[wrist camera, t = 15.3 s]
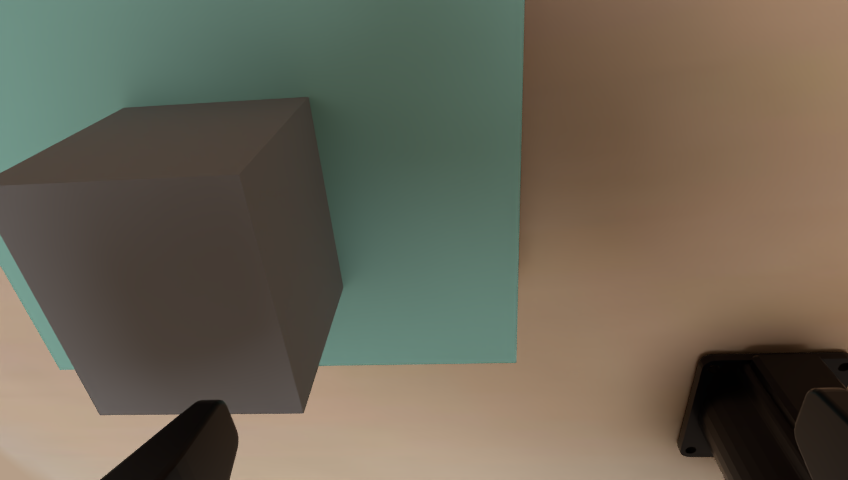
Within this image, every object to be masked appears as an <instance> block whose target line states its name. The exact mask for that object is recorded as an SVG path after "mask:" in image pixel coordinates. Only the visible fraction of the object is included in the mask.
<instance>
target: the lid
mask: <svg viewBox="0 0 848 480" xmlns="http://www.w3.org/2000/svg"><path fill="white" fill-rule="evenodd" d="M524 6H525V0H0V173H1V172H3V171H5V170H7V169H9V168H11V167H13V166H14V165H16V164H18V163H20V162H22V161H24V160H26V159H28V158H30V157H31V156H33V155H35V154H37V153H39V152H41V151H43V150H45V149H47V148H48V147H50V146H52V145H54V144H56V143H58V142H60V141H62V140H64V139H65V138H67V137H69V136H71V135H73V134H75V133H77V132H79V131H81V130H82V129H84V128H86V127H88V126H90V125H92V124H94V123H96V122H98V121H100V120H101V119H103V118H105V117H107V116H109V115H111V114H113V113H115V112H117V111H118V110H120V109H122V108H127V107H144V106H161V105H178V104H195V103H212V102H229V101H246V100H263V99H280V98H296V97H309V102H310V107H311V113H312V118H313V124H314V129H315V135H316V140H317V146H318V151H319V157H320V162H321V168H322V173H323V178H324V184H325V189H326V195H327V200H328V206H329V211H330V217H331V222H332V228H333V233H334V239H335V244H336V250H337V255H338V260H339V266H340V271H341V277H342V282H343V290H342V294H341V297H340V300H339V303H338V306H337V309H336V312H335V316H334V319H333V322H332V325H331V328H330V331H329V335H328V338H327V341H326V344H325V347H324V350H323V353H322V357H321V360H320V363H319V366H336V365H402V364H468V363H516V351H517V308H518V265H519V222H520V178H521V135H522V92H523V49H524ZM0 266H1V267H2V269H3V271H4V273H5V274H6V276H7V278H8V280H9V281H10V283H11V285H12V287H13V288H14V290H15V292H16V294H17V295H18V297H19V299H20V301H21V302H22V304H23V306H24V308H25V309H26V311H27V313H28V315H29V316H30V318H31V320H32V322H33V323H34V325H35V327H36V329H37V330H38V332H39V334H40V336H41V337H42V339H43V341H44V343H45V344H46V346H47V348H48V350H49V351H50V353H51V355H52V357H53V358H54V360H55V362H56V364H57V365H58V367H59V369H60V370H73V369H74V367H73V365H72V364H71V362H70V360H69V358H68V356H67V355H66V353H65V351H64V349H63V347H62V346H61V344H60V342H59V340H58V338H57V336H56V335H55V333H54V331H53V329H52V327H51V326H50V324H49V322H48V320H47V318H46V317H45V315H44V313H43V311H42V309H41V308H40V306H39V304H38V302H37V300H36V298H35V297H34V295H33V293H32V291H31V289H30V288H29V286H28V284H27V282H26V280H25V279H24V277H23V275H22V273H21V271H20V270H19V268H18V266H17V264H16V262H15V260H14V259H13V257H12V255H11V253H10V251H9V250H8V248H7V246H6V244H5V242H4V241H3V239H2V237H1V235H0Z"/></svg>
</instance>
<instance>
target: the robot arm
mask: <svg viewBox="0 0 848 480" xmlns="http://www.w3.org/2000/svg"><path fill="white" fill-rule="evenodd" d="M711 365H713V366H711ZM847 386H848V353H845V352H821V353H760V354H711V355H706V356H704V357H703V358H701V359H700V361H699V363H698V366H697V370H696V374H695V378H694V382H693V386H692V389H691V393H690V397H689V401H688V405H687V409H686V413H685V417H684V420H683V424H682V428H681V432H680V436H679V440H678V448H679V450H680V453H681V454H682V455H684V456H687V457H714V458H715V460H716V462H717V464H718V466H719V468H720V470H721V472H722V474H723V476H724V478H725V480H848V390H847ZM237 448H238V433H237V430H236V427H235V425H234V422H233V420H232V417H231V414H230V412H229V409H228V407H227V405H226V403H225V402H224V401H223V400H219V399H218V400H199V401H197V402H195V403H194V404H192V405H191V406H190V407H189V408H187V409H186V410H185V411H184V412H183V413H181V414H180V415H179V416H178V417H176V418H175V419H174V420H173V421H171V422H170V423H169V424H168V425H167V426H165V427H164V428H163V429H162V430H160V431H159V432H158V433H157V434H156V435H154V436H153V437H152V438H151V439H149V440H148V441H147V442H146V443H145V444H143V445H142V446H141V447H140V448H138V449H137V450H136V451H135V452H133V453H132V454H131V455H130V456H129V457H127V458H126V459H125V460H124V461H122V462H121V463H120V464H119V465H118V466H116V467H115V468H114V469H113V470H111V471H110V472H109V473H108V474H107V475H105V476H104V477H103V478H102V479H100V480H230V476H231V472H232V468H233V464H234V460H235V456H236V452H237Z"/></svg>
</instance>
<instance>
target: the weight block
mask: <svg viewBox="0 0 848 480" xmlns="http://www.w3.org/2000/svg"><path fill="white" fill-rule="evenodd" d="M0 235H1V237H2V239H3V241H4V242H5V244H6V246H7V248H8V250H9V251H10V253H11V255H12V257H13V259H14V260H15V262H16V264H17V266H18V268H19V270H20V271H21V273H22V275H23V277H24V279H25V280H26V282H27V284H28V286H29V288H30V289H31V291H32V293H33V295H34V297H35V298H36V300H37V302H38V304H39V306H40V308H41V309H42V311H43V313H44V315H45V317H46V318H47V320H48V322H49V324H50V326H51V327H52V329H53V331H54V333H55V335H56V336H57V338H58V340H59V342H60V344H61V346H62V347H63V349H64V351H65V353H66V355H67V356H68V358H69V360H70V362H71V364H72V365H73V367H74V369H75V371H76V373H77V374H78V376H79V378H80V380H81V382H82V384H83V385H84V387H85V389H86V391H87V393H88V394H89V396H90V398H91V400H92V402H93V403H94V405H95V407H96V409H97V411H98V412H99V414H100V415H168V414H181V413H183V412H184V411H185V410H186V409H187V408H189V407H190V406H191V405H192V404H194V403H195V402H197V401H199V400H218V399H219V400H223V401H224V402H225V403H226V405H227V407H228V409H229V412H230V414H292V413H304V410H305V407H306V404H307V401H308V398H309V394H310V391H311V388H312V385H313V382H314V379H315V376H316V372H317V369H318V366H319V363H320V360H321V357H322V353H323V350H324V347H325V344H326V341H327V338H328V335H329V331H330V328H331V325H332V322H333V319H334V316H335V312H336V309H337V306H338V303H339V300H340V297H341V294H342V290H343V282H342V277H341V271H340V266H339V260H338V255H337V250H336V244H335V239H334V233H333V228H332V222H331V217H330V211H329V206H328V200H327V195H326V189H325V184H324V178H323V173H322V168H321V162H320V157H319V151H318V146H317V140H316V135H315V129H314V124H313V118H312V113H311V107H310V102H309V97H296V98H280V99H263V100H246V101H229V102H212V103H195V104H178V105H161V106H144V107H127V108H122V109H120V110H118V111H117V112H115V113H113V114H111V115H109V116H107V117H105V118H103V119H101V120H100V121H98V122H96V123H94V124H92V125H90V126H88V127H86V128H84V129H82V130H81V131H79V132H77V133H75V134H73V135H71V136H69V137H67V138H65V139H64V140H62V141H60V142H58V143H56V144H54V145H52V146H50V147H48V148H47V149H45V150H43V151H41V152H39V153H37V154H35V155H33V156H31V157H30V158H28V159H26V160H24V161H22V162H20V163H18V164H16V165H14V166H13V167H11V168H9V169H7V170H5V171H3V172H1V173H0Z"/></svg>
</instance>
